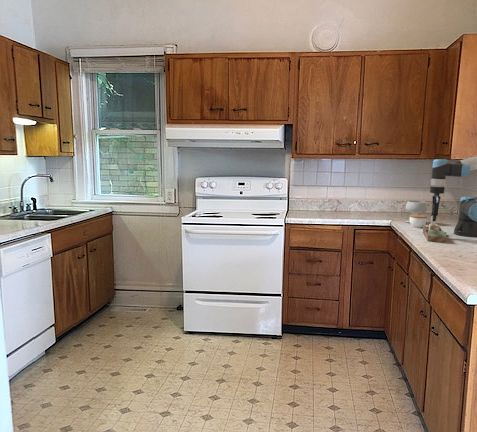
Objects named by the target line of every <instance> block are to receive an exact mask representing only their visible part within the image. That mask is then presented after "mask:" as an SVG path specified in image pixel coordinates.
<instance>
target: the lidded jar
mask: <svg viewBox="0 0 477 432" xmlns="http://www.w3.org/2000/svg"><path fill="white" fill-rule="evenodd" d="M409 220H410V223H409V224H410V225H411V226H412V228H416V227H417V228H418V229H419V228H420V229H421V228H422V229H423V225H425V226H426V224H427V220H428V215H425V214H420V215H419V213H418V214H411V213H410V214H409Z"/></svg>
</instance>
